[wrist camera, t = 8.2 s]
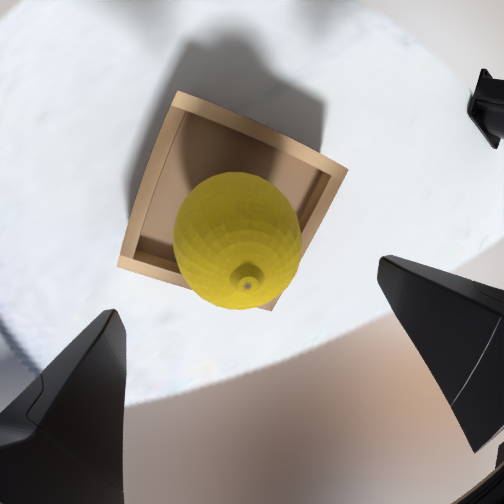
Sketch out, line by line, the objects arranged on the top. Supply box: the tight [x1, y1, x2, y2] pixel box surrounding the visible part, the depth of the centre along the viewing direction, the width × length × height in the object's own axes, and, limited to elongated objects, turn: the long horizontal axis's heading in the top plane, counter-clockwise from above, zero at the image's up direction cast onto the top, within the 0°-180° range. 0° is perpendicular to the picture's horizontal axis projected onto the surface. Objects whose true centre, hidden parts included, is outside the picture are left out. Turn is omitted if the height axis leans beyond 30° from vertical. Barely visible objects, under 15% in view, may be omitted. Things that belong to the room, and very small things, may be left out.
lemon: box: [173, 172, 302, 310], centre depth 13 cm, size 6×6×8 cm
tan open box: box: [117, 91, 349, 311], centre depth 17 cm, size 10×10×4 cm
